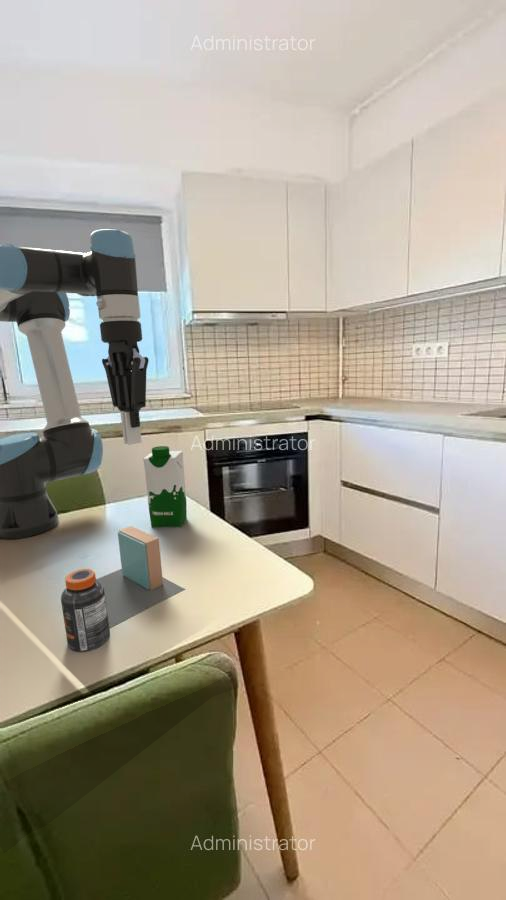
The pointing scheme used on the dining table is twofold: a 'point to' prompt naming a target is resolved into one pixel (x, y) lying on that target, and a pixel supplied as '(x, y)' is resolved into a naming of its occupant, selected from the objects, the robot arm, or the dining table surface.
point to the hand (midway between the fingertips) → (132, 442)
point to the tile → (140, 557)
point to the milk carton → (165, 487)
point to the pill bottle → (84, 611)
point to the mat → (131, 596)
